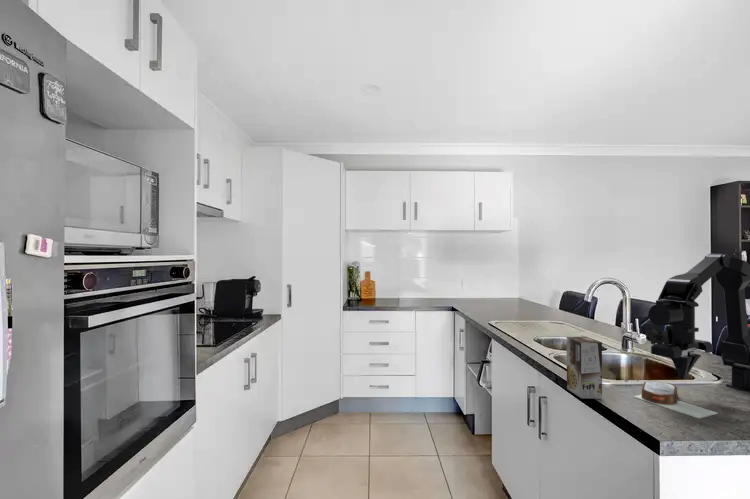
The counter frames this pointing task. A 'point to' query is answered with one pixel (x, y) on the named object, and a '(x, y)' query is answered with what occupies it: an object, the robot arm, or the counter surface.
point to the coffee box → (584, 367)
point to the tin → (659, 392)
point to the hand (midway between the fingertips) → (682, 378)
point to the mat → (685, 408)
